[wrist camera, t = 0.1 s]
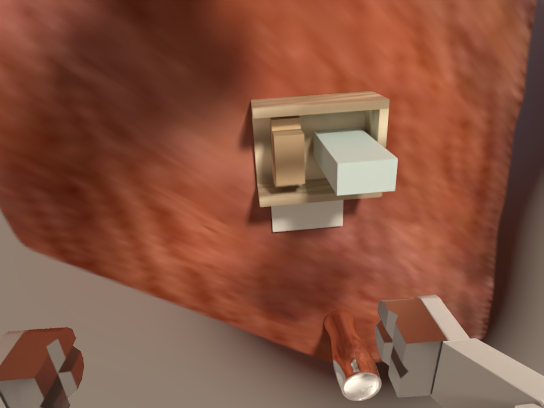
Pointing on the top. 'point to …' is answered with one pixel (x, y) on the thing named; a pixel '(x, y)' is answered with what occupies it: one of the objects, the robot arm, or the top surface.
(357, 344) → the beer glass
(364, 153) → the pale green block
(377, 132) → the tray
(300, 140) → the offcut short
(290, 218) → the felt pad
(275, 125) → the block
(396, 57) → the top surface
